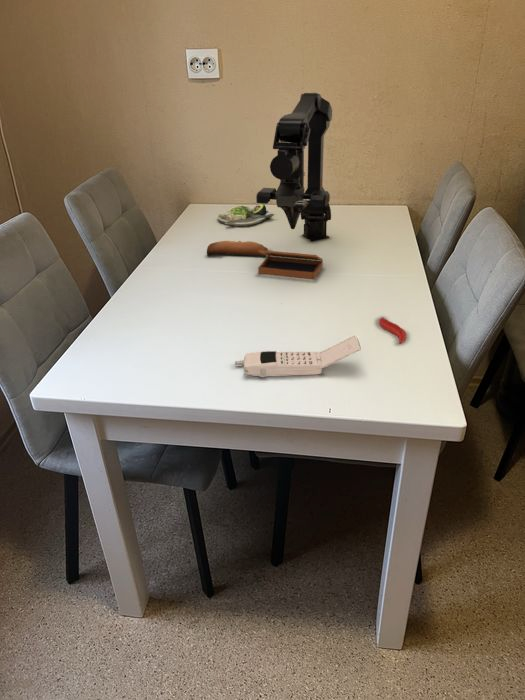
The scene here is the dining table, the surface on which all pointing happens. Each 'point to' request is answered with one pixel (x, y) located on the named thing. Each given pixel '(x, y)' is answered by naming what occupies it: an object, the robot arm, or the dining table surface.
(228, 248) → the sunglasses case
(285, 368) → the mobile phone
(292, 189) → the robot arm
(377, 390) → the dining table surface
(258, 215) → the salad plate
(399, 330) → the cayenne pepper
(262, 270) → the wooden box
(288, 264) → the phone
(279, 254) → the cover
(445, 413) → the dining table surface
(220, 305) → the dining table surface
